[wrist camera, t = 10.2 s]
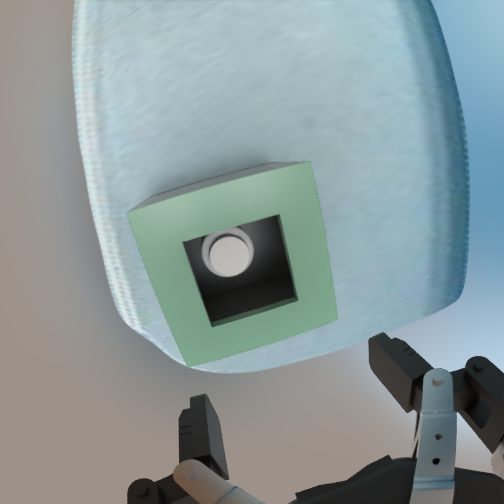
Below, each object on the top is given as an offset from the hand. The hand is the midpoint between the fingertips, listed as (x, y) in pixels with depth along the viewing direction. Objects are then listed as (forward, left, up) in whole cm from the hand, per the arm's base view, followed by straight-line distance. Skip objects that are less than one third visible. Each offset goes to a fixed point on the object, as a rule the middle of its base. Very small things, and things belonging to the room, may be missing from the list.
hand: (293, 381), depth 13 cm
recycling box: (0, 0, -28) cm, 28 cm away
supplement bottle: (0, -1, -28) cm, 28 cm away
